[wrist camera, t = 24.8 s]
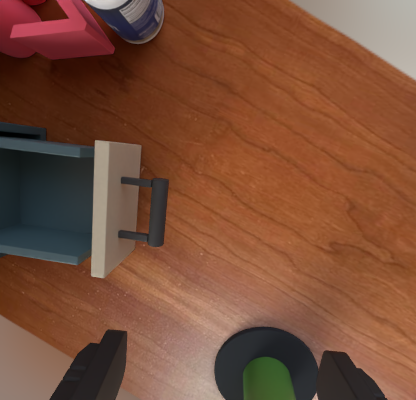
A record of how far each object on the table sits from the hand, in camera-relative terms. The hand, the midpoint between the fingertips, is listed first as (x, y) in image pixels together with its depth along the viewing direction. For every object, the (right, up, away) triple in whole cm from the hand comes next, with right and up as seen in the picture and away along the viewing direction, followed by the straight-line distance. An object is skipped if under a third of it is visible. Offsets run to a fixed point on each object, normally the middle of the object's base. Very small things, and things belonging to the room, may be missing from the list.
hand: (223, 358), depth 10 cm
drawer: (-13, +7, +17) cm, 22 cm away
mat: (+6, -14, +20) cm, 25 cm away
